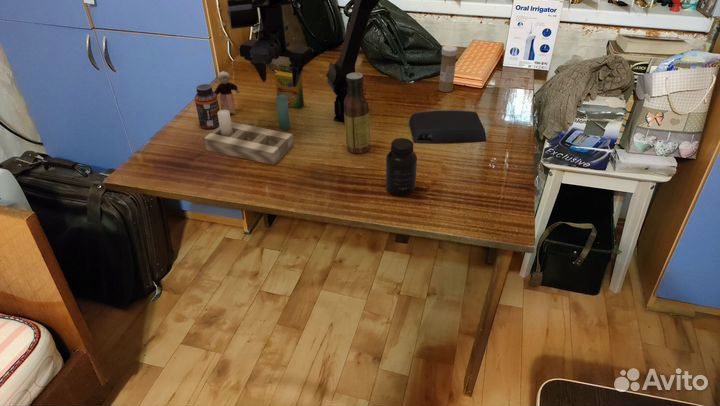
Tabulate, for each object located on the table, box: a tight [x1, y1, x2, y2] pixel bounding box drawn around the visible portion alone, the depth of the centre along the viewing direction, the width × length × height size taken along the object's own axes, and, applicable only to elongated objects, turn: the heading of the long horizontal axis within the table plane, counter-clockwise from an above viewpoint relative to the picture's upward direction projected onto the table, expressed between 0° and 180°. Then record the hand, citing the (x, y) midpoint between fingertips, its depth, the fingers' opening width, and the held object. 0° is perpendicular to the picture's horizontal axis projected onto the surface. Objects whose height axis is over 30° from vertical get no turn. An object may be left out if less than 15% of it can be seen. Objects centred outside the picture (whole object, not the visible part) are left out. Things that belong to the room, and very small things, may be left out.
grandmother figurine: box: [214, 70, 241, 115], centre depth 148 cm, size 8×4×13 cm, turn 131°
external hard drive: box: [408, 109, 487, 145], centre depth 141 cm, size 13×19×4 cm
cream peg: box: [217, 109, 233, 137], centre depth 135 cm, size 3×3×9 cm
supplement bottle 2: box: [385, 137, 418, 197], centre depth 117 cm, size 7×7×12 cm
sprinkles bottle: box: [438, 44, 458, 93], centre depth 160 cm, size 5×5×13 cm
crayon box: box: [274, 64, 305, 110], centre depth 152 cm, size 7×3×12 cm, turn 68°
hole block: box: [203, 121, 294, 166], centre depth 135 cm, size 20×10×4 cm, turn 68°
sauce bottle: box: [344, 72, 371, 154], centre depth 130 cm, size 7×6×20 cm
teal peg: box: [275, 95, 291, 131], centre depth 142 cm, size 3×3×9 cm
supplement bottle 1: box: [194, 83, 221, 130], centre depth 143 cm, size 6×6×11 cm
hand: (279, 83), depth 137 cm, fingers open, 9 cm apart
